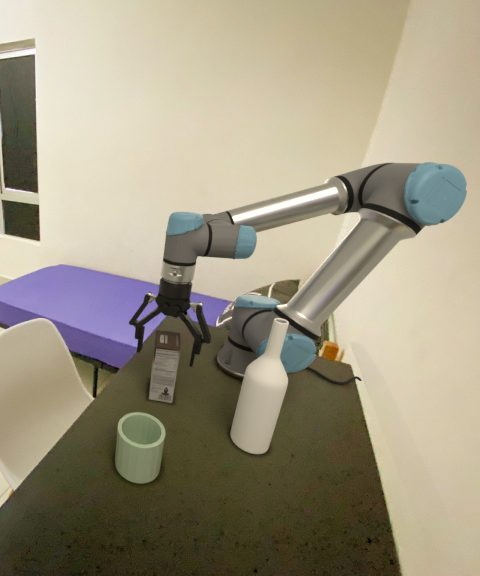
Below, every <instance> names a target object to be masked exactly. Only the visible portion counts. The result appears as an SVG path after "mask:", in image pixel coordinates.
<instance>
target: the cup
mask: <svg viewBox="0 0 480 576" xmlns="http://www.w3.org/2000/svg"><path fill="white" fill-rule="evenodd" d="M116 430H117V431H116V442H115V452H114V453H115V454H114V466H115V468H116V469H115V470H117V473H119V475H120V476H121V477H122V478H124V479H125V480H127V481H129V482H130V483H134V484H139V485H141V484H147V483H150V482H153V481H154V480H155V479H156V478H157V477H158V476H159V475H160V471H161V467H162V462H163V461H162V459H163V456H164V455H163V454H164V448H165V441H166V428H165V426H164V424H163V423H162V422H161V421H160V420H159V419H158V417H155V416H154V415H152V414H150V413H147V412H141V411H134V412H129V413H126V414H124V415H123V416H122V417H120V419H119V421H118V423H117V429H116Z"/></svg>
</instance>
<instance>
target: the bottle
mask: <svg viewBox="0 0 480 576" xmlns="http://www.w3.org/2000/svg"><path fill="white" fill-rule="evenodd" d="M288 325H289V322H288V321H287V320H285V319H282V318H275V319H274V321H273V325H272V328H271V332H270V336H269V340H268V343H267V347H266V350H265V352H264V354H263V355H261V356H260V357H259V358H257V359H256V360H254V361H253V362H252V363H250V364H249V365H248V367H247V368H246V371H245V374H244V378H243V380H242V382H241V387H240V391H239V395H238V399H237V404H236V406H235V411H234V416H233V420H232V423H231V429H230V432H229V434H230V439H231V441H232V442H233V443H234V445H235V446H237V447H238V449H240V450H241V451H244V452H246V453H249V454H253V455H262V454H265V453H267V451H268V450H269V448H270V446H271V443H272V439H273V435H274V431H275V428H276V425H277V422H278V420H279V419H278V418H279V416H280V412H281V408H282V406H283V403H284V399H285V396H286V392H287V389H288V385H289V377H288V374H286V371H285V369H284V367H283V364H282V362H281V359H280V354H281V350H282V346H283V343H284V339H285V336H286V332H287V329H288Z"/></svg>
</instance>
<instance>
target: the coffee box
mask: <svg viewBox="0 0 480 576" xmlns="http://www.w3.org/2000/svg"><path fill="white" fill-rule="evenodd" d="M181 339H182V338H181V332H175V331H167V330H159V329H157V330H156V331H155V338H154V345H153V353H152V360H151V369H150V370H151V371H150V382H149V391H148V400H149V401H157V402H162V403H163V402H164V403H168V404H173V403H174V395H175V388H176V384H177V383H176V382H177V375H178V369H179V364H180V358H181V352H182V351H181V350H182V344H181V343H182V340H181Z"/></svg>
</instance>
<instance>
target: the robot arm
mask: <svg viewBox="0 0 480 576" xmlns="http://www.w3.org/2000/svg"><path fill="white" fill-rule="evenodd" d="M467 185H468V183H467V178H466V177H465V175H464V173H463V172H462V171H461V170H460V169H459V168H458V167H456V166H454V165H451V164H447V163H438V162H433V161H427V162H423V163H422V162H382V163H377V164H371V165H369V166H368V165H367V166H365V167H361V168H357V169H355V170H351V171H348V172H345V173H341V174H338V175H334V176H331V177H328V178H327V179H326V180H325V181H324V182H323V183H321V184H318V185H313V186H310V187H307V188H303V189H299V190H295V191H293V192H289V193H285V194H282V195H279V196H275V197H271V198H268V199H264V200H261V201H257V202H254V203H250V204H246V205H242V206H239V207H235V208H232V209H228V210H226V211H220V212H217V213H196V212H189V211H174V212H172V213H170V215H169V216H168V221H167V226H166V231H165V240H164V247H163V257H162V262H161V269H160V270H161V271H160V277H161V278H160V279H159V286H158V291H157V295H156V294H153V293H152V292H151V291H147V292H146V294H145V295H144V297H143V301H142V302H141V305H140V306H139V307H138V309H137V310H136V312H135V313H134V314H133V316H132V317H131V318H130V320H129V321H128V325H130V326H133V327H134V328H135V330H134V340H137V345H136V353H140V352H141V351H142V349H143V345H144V337H145V330H146V329H145V328H146V327H145V325H146V324H147V323H149V322H150V321H151V320H153V319H154V318H155V317H157V316H158V315H160V314H163V316H167V317H172V318H176V319H177V318H179V319H180V320H181V321H182V322H183V323H184V325H185V326H186V328H187V330H188V331H189V333H190V334H191V336H192V337H193V339H194V341H193V343H192V349H191V354H190V360H189V365H188V367H189V368H193V366H194V363H195V362H194V361H195V357H196V356H199V355H200V354H201V351H202V346H203V344H207V345H208V344H211V340H212V335H211V332H210V329H209V325H208V323H207V320H206V317H205V314H204V311H203V309H204V303H203V301H198V302H191V294H192V289H193V280H194V278H195V277H194V276H195V272H196V266H197V259H198V257H201V258H216V259H231V260H246V259H250V257H252V255H253V254H254V253H255V250H256V247H257V242H258V236H257V235H258V234H257V233H260V232H264V231H269V230H271V229H272V230H273V229H275V228H276V229H277V228H279V227H283V226H286V225H291V224H295V223H298V222H303V221H305V220H310V219H314V218H318V217H321V216H325V215H329V214H330V215H332V216H340V215H344V214H350V213H357V215H358V221H357V222H356V224H355V225H354V226H353V227H352V228H351V230H350V231H349V232H348V233H347V234H346V235H345V236H344V238H343V239H342V240H341V241H340V242H339V243H338V245H337V246H335V248H334V249H333V251H331V252H330V254H329V255H328V256H327V257H326V258H325V259H324V260H323V262H322V263H321V264H320V265H319V266H318V267H317V269H315V271H314V272H313V273H312V274H311V275H310V277H309V278H308V279H306V280H305V282H304V283H303V285H302V286H301V287H300V288H299V289H298V291H296V293H295V294H294V295H293V296H292V297H291V298H290V300H289V301H288V302H286V303H284V304H282V303H281V302H280V300H278V299H276V298H274V297H269V296H266V295H259V294H241V295H239V296H237V298H236V299H235V302H234V305H233V310H232V315H231V319H230V324H229V329H228V335H227V338H226V341H225V342H224V343H223V344H222V345H221V347H220V350H219V351H218V353H217V355H216V364H217V366H218V367H219V369H220V370H221V371H222V372H224V373H225V374H226V375H228V376H230V377H232V378H235V379H237V380H241V381H243V378H244V374H245V371H246V368H247V367H248V365H249V364H250V363H252V362H253V361H254V360H256V359H257V358H259V357H260V356H261V355H263V354H264V352H265V350H266V347H267V343H268V340H269V336H270V332H271V328H272V325H273V321H274V319H275V318H282V319H285V320H287V321H288V322H289V325H288V329H287V332H286V336H285V339H284V343H283V346H282V350H281V354H280V359H281V362H282V364H283V367H284V369H285V371H286V374H287V375H288V374H295V373H298V372H301V371H304V370H308V371H311V372H313V373H315V374H317V375H318V376H319V377H321V378H323V379H325V380H326V381H328V382H330V383H333V384H337V385H347V384H350V383H352V382H354V381H355V380H357V381H359V382H362V381H363V380H362V379H361V377H359V376H352V377H351V378H349V379H348V380H345V381H338V380H334V379H332V378H330V377H327V376H326V375H324V374H323V373H321V372H319V371H317V370H316V369H314V368H312V367H310V365H312V363H313V362H314V361H315V359H316V357H317V354H316V353H317V351H318V349H317V346H316V344H315V343H316V342H317V341H318V340H319V339H320V338H321V336H322V330H321V327H322V325H323V324H324V323H325V322H326V321H327V320H328V319H329V317H330V316H331V315H332V314H333V313H334V312H335V311H336V310H337V309H338V308H339V307H340V306H341V304H343V303H344V302H345V300H347V298H348V297H349V296H350V295H351V294H352V293H353V292H354V291H355V290H356V288H357V287H358V286H359V285H360V284H361V283H362V282H363V281H364V280H365V279H366V278H367V277H368V276H369V275H370V274H371V272H373V270H374V269H376V267H377V266H378V265H379V264H380V263H381V262H382V261H383V260H384V259H385V257H386V256H387V255H388V254H389V253H390V252H391V251H392V250H393V249H394V248H395V247H396V246H397V245H398V244H399V243H400V242H401V241H404V240H409V239H414V238H415V237H416V236H418V234H420V232H421V231H422V230H423V229H424V228H425V227H431V226H437V225H439V224H444V223H445V222H448V221H450V219H452V218H453V217H455V216H456V214H457V213H458V212H459V211H461V208H462V207H463V205H464V203H465V201H466V198H467V193H468V191H467ZM153 301H155V303H156V305H157V307H155V308H154V309H153V310H152V311H150V312H149V313H148V314H146V315H145V316H143V318H141V319H140V320H138V318H140V316H141V314H143V312H144V310H145V309H146V308H147V306H148V305H149V304H152V303H153ZM190 309H192V311H193V313H195V316H196V319H197V322H198V325H199V328H200V330H199V328H198V327H197V326H196V324H195V322H194V320H193V319H192V317H191V316H190V313H189V312H188V310H190ZM200 331H201V332H200Z"/></svg>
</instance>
